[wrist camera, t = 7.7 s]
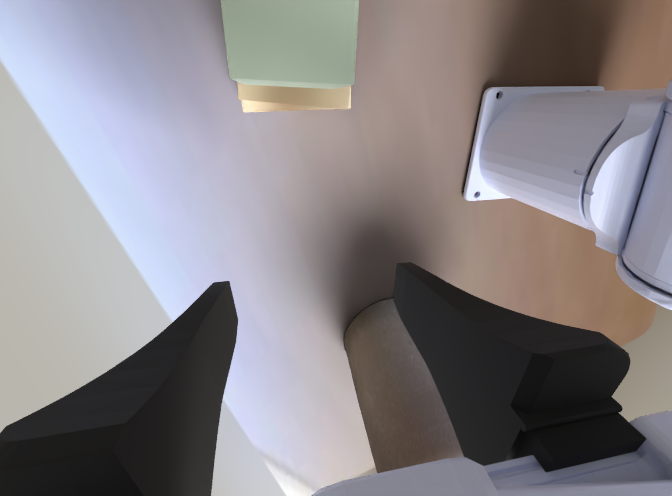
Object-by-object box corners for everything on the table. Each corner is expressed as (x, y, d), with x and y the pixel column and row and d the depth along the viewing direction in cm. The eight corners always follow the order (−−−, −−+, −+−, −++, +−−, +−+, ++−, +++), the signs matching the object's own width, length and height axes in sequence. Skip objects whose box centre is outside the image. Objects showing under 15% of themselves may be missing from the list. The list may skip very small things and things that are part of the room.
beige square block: (345, -5, 14) (360, -30, 11) (337, 108, 16) (348, 109, 13) (239, -23, 13) (228, -55, 10) (245, 100, 15) (238, 99, 12)
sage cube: (338, -27, 11) (364, -86, 8) (334, 89, 13) (354, 85, 9) (232, -40, 10) (207, -111, 7) (244, 84, 12) (229, 77, 9)
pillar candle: (350, 376, 31) (401, 578, 18) (335, 309, 26) (390, 516, 13) (434, 354, 32) (542, 532, 18) (434, 284, 27) (579, 457, 14)
